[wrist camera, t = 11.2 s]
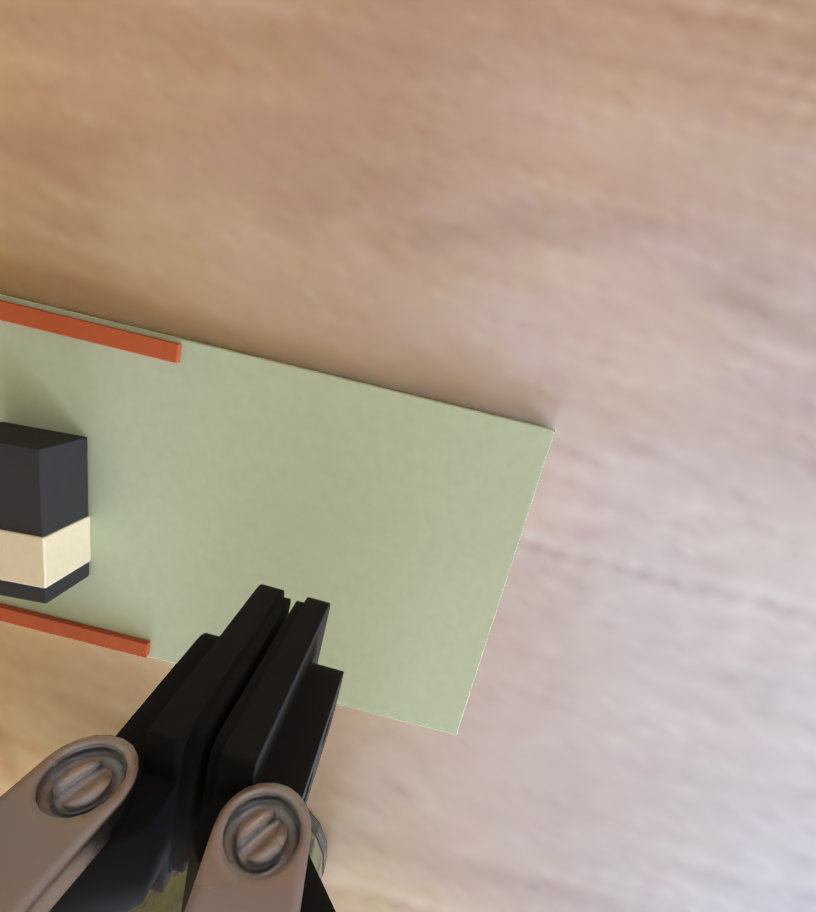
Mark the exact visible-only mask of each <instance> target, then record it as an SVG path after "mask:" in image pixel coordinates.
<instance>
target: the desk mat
mask: <svg viewBox="0 0 816 912" xmlns="http://www.w3.org/2000/svg"><path fill="white" fill-rule="evenodd" d="M0 422H7V423H12V424H18V425H23V426H29V427H34V428H40V429H46V430H51V431H57V432H62V433H68V434H73V435H79V436H85V437H87V457H88V515H90V536H91V560H90V561H89V576H88V577H86V578H85V579H83V580H82V581H80V582H79V583H77V584H76V585H74V586H73V587H71V588H69V589H68V590H66V591H65V592H63V593H62V594H60V595H59V596H57V597H56V598H54V599H53V600H51V601H49V602H48V603H45V604H44V603H39V602H34V601H28V600H23V599H18V598H13V597H7V596H2V595H0V621H4V622H8V623H11V624H15V625H19V626H23V627H27V628H31V629H35V630H39V631H43V632H47V633H51V634H55V635H59V636H63V637H67V638H70V639H74V640H78V641H82V642H86V643H90V644H94V645H98V646H102V647H106V648H110V649H114V650H118V651H122V652H126V653H130V654H133V655H137V656H141V657H147V656H148V657H152V658H156V659H160V660H164V661H168V662H172V663H176V664H177V662H178V661H179V660H180V659H181V658H182V657H183V655H184V654H185V653H186V652H187V651H188V649H189V648H190V647H191V646H192V645H193V643H194V642H195V641H196V640H197V639H198V638H199V637H200V636H201V635H202V634H204V633H209V634H213V635H216V636H220V635H221V634H222V633H223V631H224V630H225V629H226V627H227V626H228V625H229V623H230V622H231V621H232V620H233V618H234V617H235V616H236V614H237V613H238V612H239V611H240V609H241V608H242V607H243V605H244V604H245V603H246V601H247V600H248V599H249V598H250V596H251V595H252V594H253V592H254V591H255V590H256V588H257V587H258V586H259V585H260V584H263V585H267V586H271V587H274V588H278V589H282V590H284V597H286V598H289V599H291V603H290V609H289V613H290V611H291V609H292V607H293V606H294V604H295V603H296V601H300V602H305V600H306V598H307V597H310V598H314V599H318V600H321V601H325V602H329V603H330V610H329V615H328V619H327V624H326V628H325V633H324V637H323V641H322V646H321V650H320V655H319V659H318V664H319V665H323V666H326V667H330V668H333V669H337V670H341V671H344V675H343V679H342V684H341V688H340V692H339V696H338V699H337V703H336V704H337V705H341V706H345V707H349V708H353V709H357V710H361V711H364V712H368V713H372V714H376V715H380V716H384V717H388V718H392V719H396V720H400V721H404V722H408V723H412V724H416V725H420V726H424V727H427V728H431V729H435V730H439V731H443V732H447V733H451V734H455V735H456V734H457V732H458V729H459V725H460V722H461V719H462V716H463V713H464V710H465V707H466V704H467V701H468V698H469V695H470V692H471V688H472V685H473V682H474V679H475V676H476V673H477V670H478V667H479V664H480V661H481V658H482V655H483V651H484V648H485V645H486V642H487V639H488V636H489V633H490V630H491V627H492V624H493V621H494V617H495V614H496V611H497V608H498V605H499V602H500V599H501V596H502V593H503V590H504V587H505V584H506V580H507V577H508V574H509V571H510V568H511V565H512V562H513V559H514V556H515V553H516V550H517V547H518V543H519V540H520V537H521V534H522V531H523V528H524V525H525V522H526V519H527V516H528V513H529V510H530V506H531V503H532V500H533V497H534V494H535V491H536V488H537V485H538V482H539V479H540V476H541V473H542V469H543V466H544V463H545V460H546V457H547V454H548V451H549V448H550V445H551V442H552V439H553V435H554V432H555V430H553V429H551V428H547V427H543V426H539V425H535V424H531V423H526V422H522V421H518V420H514V419H510V418H506V417H502V416H498V415H494V414H490V413H486V412H481V411H477V410H473V409H469V408H465V407H461V406H457V405H453V404H449V403H445V402H441V401H437V400H432V399H428V398H424V397H420V396H416V395H412V394H408V393H404V392H400V391H396V390H392V389H388V388H383V387H379V386H375V385H371V384H367V383H363V382H359V381H355V380H351V379H347V378H343V377H339V376H334V375H330V374H326V373H322V372H318V371H314V370H310V369H306V368H302V367H298V366H294V365H289V364H285V363H281V362H277V361H273V360H269V359H265V358H261V357H257V356H253V355H249V354H245V353H240V352H236V351H232V350H228V349H224V348H220V347H216V346H212V345H208V344H204V343H200V342H196V341H191V340H187V339H183V338H179V337H175V336H171V335H167V334H163V333H159V332H155V331H151V330H147V329H142V328H138V327H134V326H130V325H126V324H122V323H118V322H114V321H110V320H106V319H102V318H97V317H93V316H89V315H85V314H81V313H77V312H73V311H69V310H65V309H61V308H57V307H53V306H48V305H44V304H40V303H36V302H32V301H28V300H24V299H20V298H16V297H12V296H8V295H4V294H0Z"/></svg>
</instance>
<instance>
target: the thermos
mask: <svg viewBox="0 0 816 912" xmlns="http://www.w3.org/2000/svg"><path fill="white" fill-rule="evenodd" d="M308 811H309V810H308ZM309 815H310V818H311V840H310V847H309V855H310V857H311V860H312V862H313V864H314V866H315V868H316V870H317V873H318V875H319V877H320V879H321V877H322V875H323V873H324V869H325V864H326V856H327V841H326V839H325V836H324V834H323V831H322V828H321V826H320V823H319V822H318V821H317V820H316V819H315V817H314V816H313V815H312V814H311V813H310V811H309ZM187 868H188V867H187ZM187 868H186V870H185V871H184V872H183V873H181V872H178V871H174V872H173V874H172V876H171V878H170V880H169V882H168V883H167V885H166V887H165V889H164V891H163V893H159V892H156V891H153V890H149V892H148V894H147V896H146V898H145V900H144V901H143V903H142V904H140V905H139V906H137V907H135V908H134V909H132V910H130V911H128V912H181V909H182V902H183V896H184V889H185V882H186V875H187Z"/></svg>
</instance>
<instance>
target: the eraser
mask: <svg viewBox="0 0 816 912" xmlns="http://www.w3.org/2000/svg"><path fill="white" fill-rule="evenodd" d="M90 560H91V536H90V515H88V457H87V437H85V436H79V435H73V434H68V433H62V432H57V431H51V430H46V429H40V428H34V427H29V426H23V425H18V424H12V423H7V422H0V595H2V596H7V597H13V598H18V599H23V600H28V601H34V602H39V603H44V604H45V603H48V602H49V601H51V600H53V599H54V598H56V597H57V596H59V595H60V594H62V593H63V592H65V591H66V590H68V589H69V588H71V587H73V586H74V585H76V584H77V583H79V582H80V581H82V580H83V579H85V578H86V577H88V576H89V561H90Z"/></svg>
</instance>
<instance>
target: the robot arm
mask: <svg viewBox="0 0 816 912" xmlns="http://www.w3.org/2000/svg"><path fill="white" fill-rule="evenodd" d="M290 603H291V599H289V598H286V597H284V590H282V589H278V588H274V587H271V586H267V585H263V584H260V585H259V586H258V587H257V588H256V590H255V591H254V592H253V594H252V595H251V596H250V598H249V599H248V600H247V601H246V603H245V604H244V605H243V607H242V608H241V609H240V611H239V612H238V613H237V614H236V616H235V617H234V618H233V620H232V621H231V622H230V623H229V625H228V626H227V627H226V629H225V630H224V631H223V633H222V634H221V635H220V636H216V635H213V634H209V633H204V634H202V635H201V636H200V637H199V638H198V639H197V640H196V641H195V642H194V643H193V645H192V646H191V647H190V648H189V649H188V651H187V652H186V653H185V654H184V655H183V657H182V658H181V659H180V660H179V661H178V662H177V664H176V665H175V666H174V667H173V668H172V670H171V671H170V672H169V673H168V674H167V676H166V677H165V678H164V679H163V680H162V682H161V683H160V684H159V685H158V686H157V688H156V689H155V690H154V691H153V692H152V694H151V695H150V696H149V697H148V698H147V699H146V701H145V702H144V703H143V704H142V705H141V707H140V708H139V709H138V710H137V711H136V713H135V714H134V715H133V716H132V717H131V719H130V720H129V721H128V722H127V723H126V725H125V726H124V727H123V728H122V729H121V731H120V732H119V733H118V734H117V735H116V736H112V735H94V736H90V737H86V738H82V739H78V740H76V741H74V742H72V743H69V744H67V745H65V746H63V747H61V748H60V749H58V750H57V751H55V752H54V753H52V754H51V755H50V756H48V757H47V758H45V759H44V760H43V761H42V762H41V763H40V764H38V765H37V766H36V767H35V768H34V769H33V770H31V771H30V772H29V773H28V774H27V775H26V776H24V777H23V778H22V779H21V780H20V781H19V782H17V783H16V784H15V785H14V786H13V787H12V788H10V789H9V790H8V791H7V792H6V793H5V794H3V795H2V796H1V797H0V912H128V911H130V910H132V909H134V908H135V907H137V906H139V905H140V904H142V903H143V901H144V900H145V898H146V896H147V894H148V892H149V890H153V891H156V892H159V893H163V891H164V889H165V887H166V885H167V883H168V882H169V880H170V878H171V876H172V874H173V872H174V871H178V872H181V873H183V872H184V871H185V870H186V868H187V867H188V868H187V875H186V882H185V889H184V896H183V902H182V909H181V912H335V909H334V907H333V905H332V903H331V901H330V899H329V896H328V894H327V892H326V890H325V888H324V886H323V883H322V881H321V879H320V877H319V875H318V873H317V870H316V868H315V866H314V864H313V862H312V860H311V857H310V855H309V847H310V840H311V818H310V815H309V811H308V808H307V805H306V801H307V798H308V795H309V792H310V789H311V786H312V782H313V779H314V776H315V773H316V770H317V767H318V763H319V760H320V757H321V754H322V751H323V748H324V744H325V741H326V738H327V735H328V732H329V728H330V725H331V721H332V718H333V714H334V711H335V707H336V703H337V699H338V696H339V692H340V688H341V684H342V679H343V675H344V671H341V670H337V669H333V668H330V667H326V666H323V665H319V664H318V659H319V655H320V650H321V646H322V641H323V637H324V633H325V628H326V624H327V619H328V615H329V610H330V603H329V602H325V601H321V600H318V599H314V598H310V597H307V598H306V600H305V602H300V601H296V603H295V604H294V606H293V607H292V609H291V611H290V613H289V609H290Z"/></svg>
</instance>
